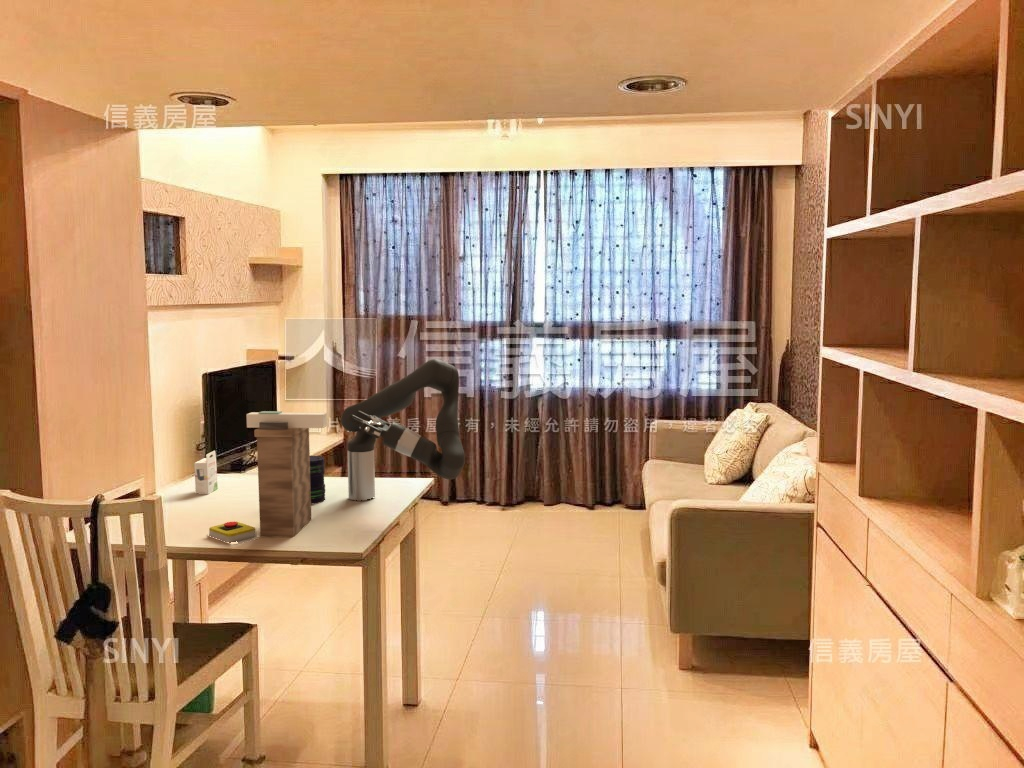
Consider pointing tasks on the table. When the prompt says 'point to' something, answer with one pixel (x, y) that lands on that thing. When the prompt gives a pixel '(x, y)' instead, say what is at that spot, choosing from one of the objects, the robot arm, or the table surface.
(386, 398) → the robot arm
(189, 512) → the table surface
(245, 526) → the emergency button
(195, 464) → the ink box
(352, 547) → the table surface
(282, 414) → the bar
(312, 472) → the dark blue cylinder
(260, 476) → the tall stand
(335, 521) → the table surface
